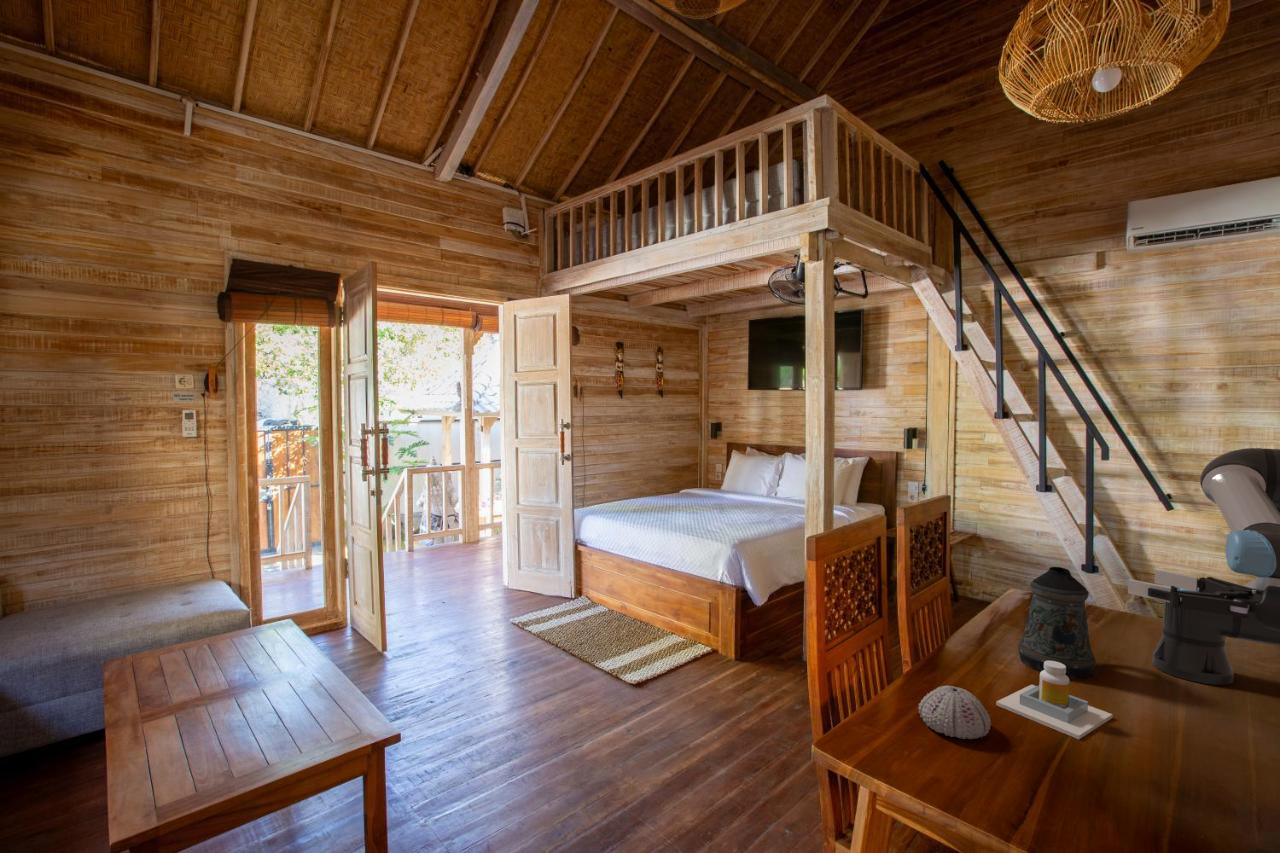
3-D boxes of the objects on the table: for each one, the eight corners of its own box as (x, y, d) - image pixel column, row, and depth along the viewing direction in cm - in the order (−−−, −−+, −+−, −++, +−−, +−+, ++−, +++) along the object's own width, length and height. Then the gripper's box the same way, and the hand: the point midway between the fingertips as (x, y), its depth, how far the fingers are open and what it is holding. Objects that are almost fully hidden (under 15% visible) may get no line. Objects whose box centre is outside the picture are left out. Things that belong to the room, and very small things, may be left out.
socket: (1031, 687, 142) (1031, 675, 142) (1112, 717, 128) (1112, 704, 128) (996, 705, 133) (996, 691, 133) (1078, 739, 120) (1079, 724, 120)
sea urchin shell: (997, 751, 116) (998, 710, 115) (920, 737, 120) (921, 698, 120) (983, 717, 128) (985, 681, 128) (914, 706, 133) (915, 670, 132)
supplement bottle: (1073, 715, 128) (1075, 670, 127) (1045, 712, 128) (1047, 668, 128) (1060, 702, 133) (1062, 660, 132) (1034, 700, 134) (1035, 658, 133)
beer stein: (1036, 677, 148) (1039, 577, 147) (1001, 646, 167) (1004, 557, 166) (1110, 682, 145) (1114, 581, 144) (1066, 650, 164) (1070, 560, 163)
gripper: (1276, 649, 95) (1115, 610, 113) (1313, 621, 108) (1164, 589, 126) (1278, 603, 95) (1117, 571, 113) (1315, 580, 108) (1166, 554, 126)
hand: (1142, 581), depth 120 cm, fingers open, 13 cm apart
